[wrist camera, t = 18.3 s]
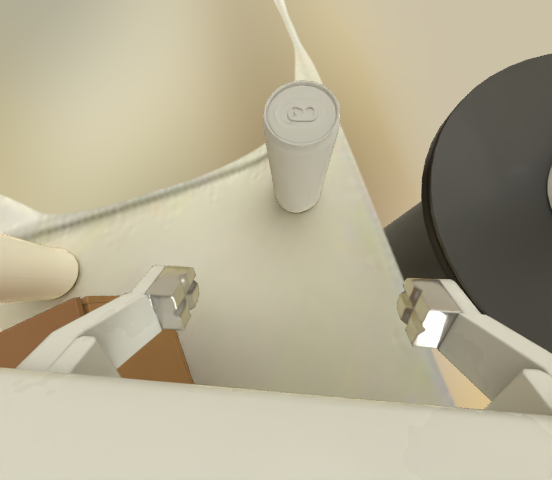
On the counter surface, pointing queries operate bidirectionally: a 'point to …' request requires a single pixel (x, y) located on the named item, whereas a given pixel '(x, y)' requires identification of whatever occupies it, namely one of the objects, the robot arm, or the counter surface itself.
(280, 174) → the beverage can
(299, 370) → the counter surface
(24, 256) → the drinking glass
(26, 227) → the counter surface
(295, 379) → the counter surface
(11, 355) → the flap
